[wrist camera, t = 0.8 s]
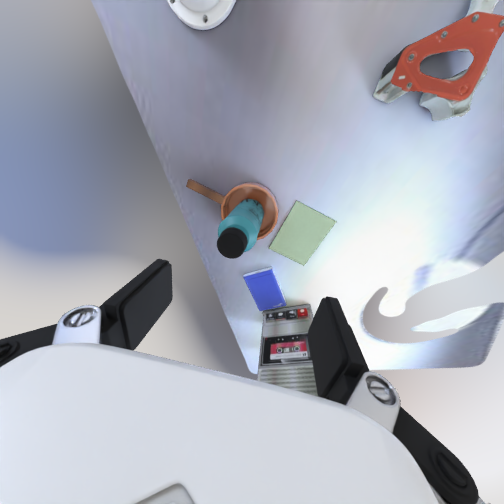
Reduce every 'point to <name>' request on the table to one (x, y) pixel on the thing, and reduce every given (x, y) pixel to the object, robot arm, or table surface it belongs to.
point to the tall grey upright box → (287, 349)
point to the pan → (258, 194)
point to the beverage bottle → (240, 228)
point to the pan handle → (205, 191)
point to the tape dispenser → (447, 39)
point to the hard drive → (265, 289)
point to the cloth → (301, 233)
